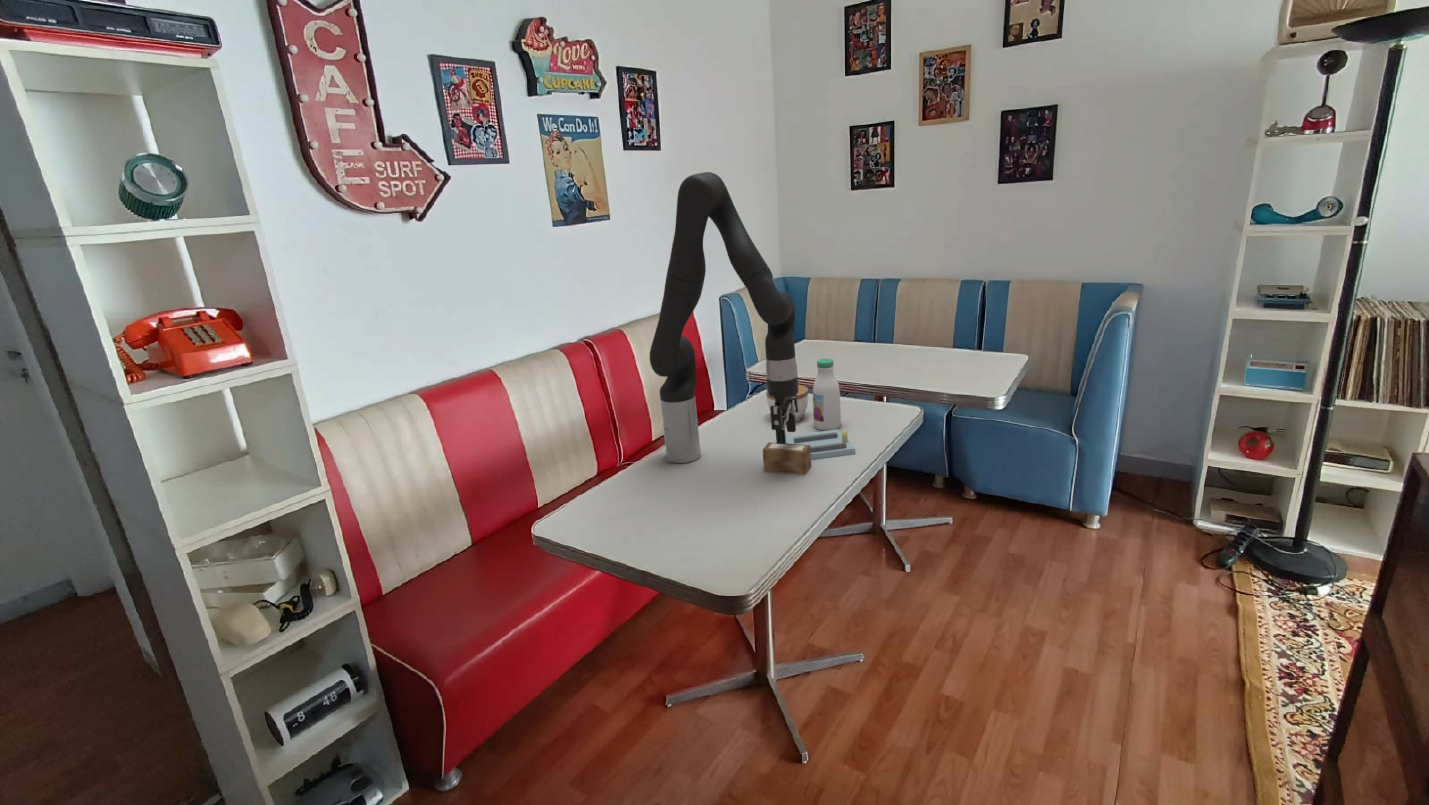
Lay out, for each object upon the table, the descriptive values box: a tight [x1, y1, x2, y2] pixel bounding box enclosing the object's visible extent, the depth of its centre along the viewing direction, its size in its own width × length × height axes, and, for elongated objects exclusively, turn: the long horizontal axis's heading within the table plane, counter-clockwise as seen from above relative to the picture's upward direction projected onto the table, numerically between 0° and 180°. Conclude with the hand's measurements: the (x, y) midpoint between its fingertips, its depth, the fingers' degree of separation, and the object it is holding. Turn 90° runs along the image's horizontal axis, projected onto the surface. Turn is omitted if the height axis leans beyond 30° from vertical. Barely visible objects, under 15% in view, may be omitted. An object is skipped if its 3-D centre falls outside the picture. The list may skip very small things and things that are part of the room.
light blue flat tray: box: [786, 428, 856, 461], centre depth 187 cm, size 16×15×4 cm
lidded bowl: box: [765, 384, 809, 422], centre depth 210 cm, size 13×13×11 cm
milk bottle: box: [812, 358, 842, 431], centre depth 199 cm, size 8×8×20 cm
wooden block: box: [762, 441, 812, 475], centre depth 176 cm, size 11×5×6 cm, turn 67°
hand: (786, 437), depth 173 cm, fingers open, 8 cm apart
